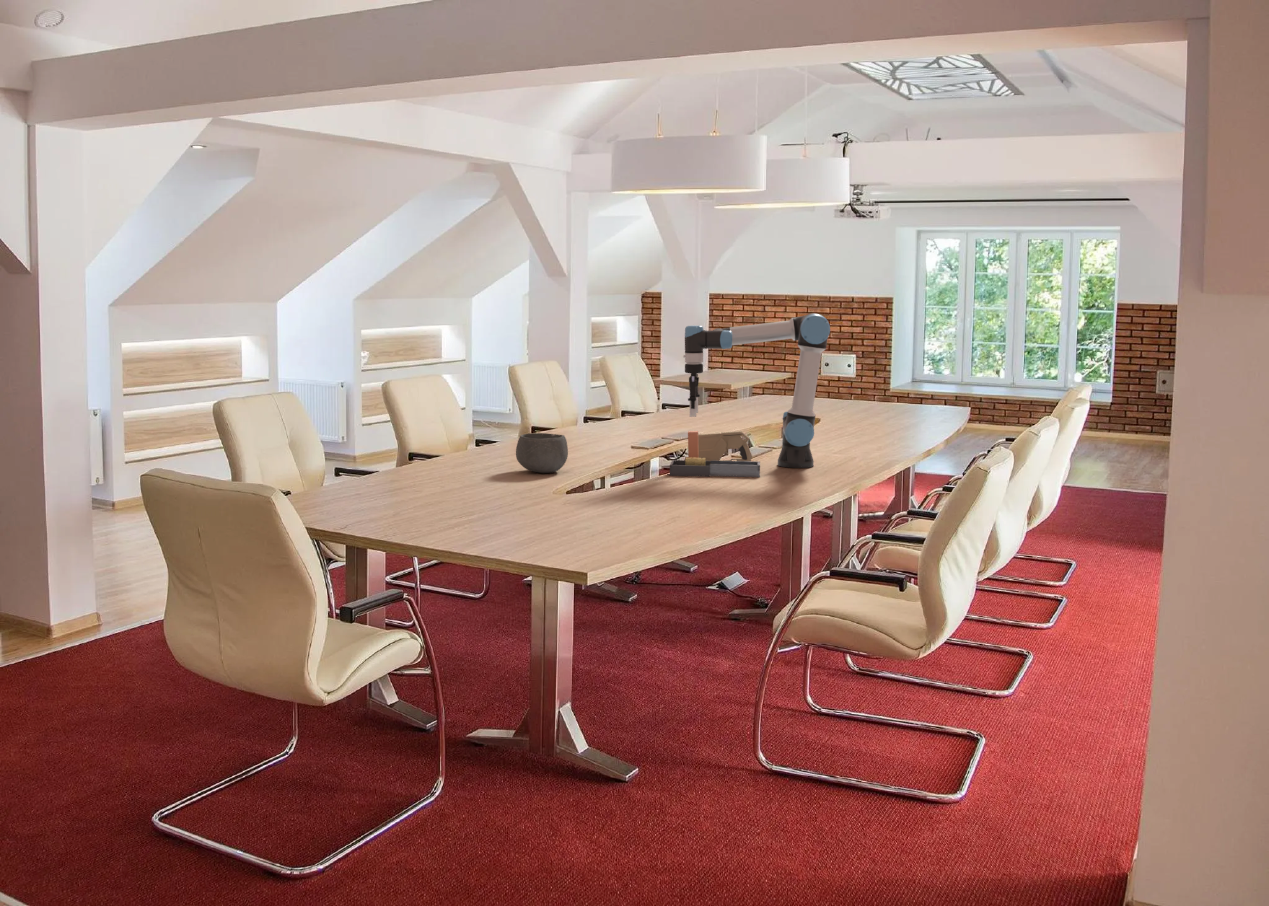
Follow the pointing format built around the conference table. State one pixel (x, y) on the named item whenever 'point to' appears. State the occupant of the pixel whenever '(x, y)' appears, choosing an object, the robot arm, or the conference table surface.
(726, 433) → the gun
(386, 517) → the conference table surface
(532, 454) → the bowl
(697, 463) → the tan cube
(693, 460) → the tan wooden cube
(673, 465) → the tray
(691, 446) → the salmon pink rectangular prism
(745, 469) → the rail
